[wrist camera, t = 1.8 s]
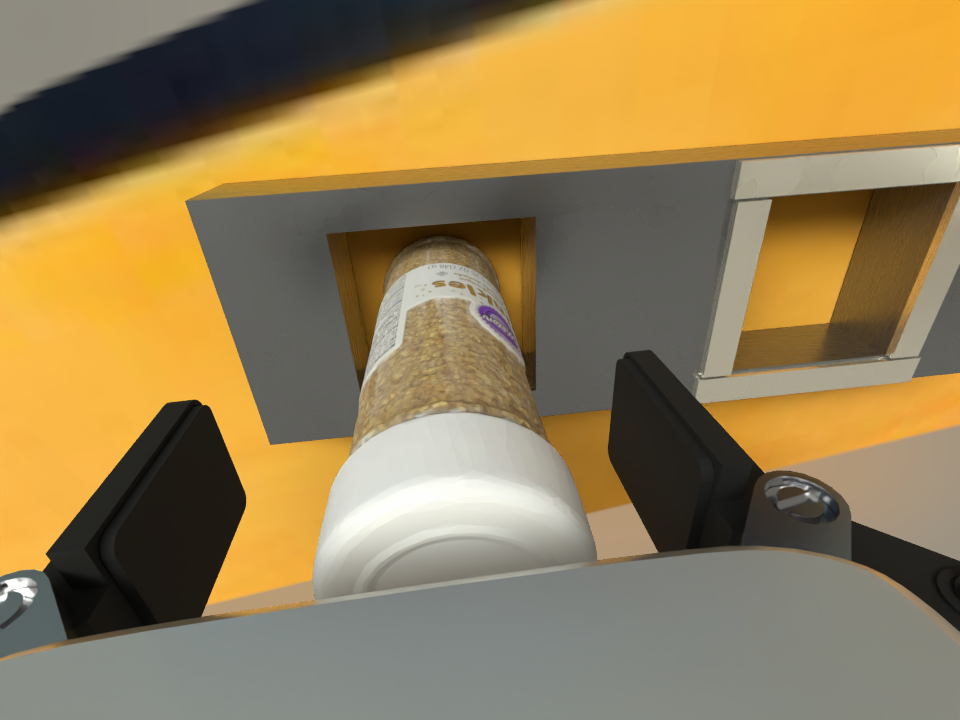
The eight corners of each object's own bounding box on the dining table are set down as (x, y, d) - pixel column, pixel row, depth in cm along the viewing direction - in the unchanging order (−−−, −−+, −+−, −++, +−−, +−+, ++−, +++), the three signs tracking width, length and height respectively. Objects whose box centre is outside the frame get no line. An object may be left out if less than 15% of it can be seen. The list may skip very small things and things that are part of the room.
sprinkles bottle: (518, 268, 19) (666, 554, 7) (460, 357, 21) (503, 704, 9) (416, 208, 17) (393, 444, 6) (361, 309, 19) (259, 650, 7)
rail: (988, 126, 18) (1094, 133, 15) (898, 339, 22) (967, 376, 20) (223, 183, 16) (180, 203, 14) (290, 400, 21) (268, 449, 18)
